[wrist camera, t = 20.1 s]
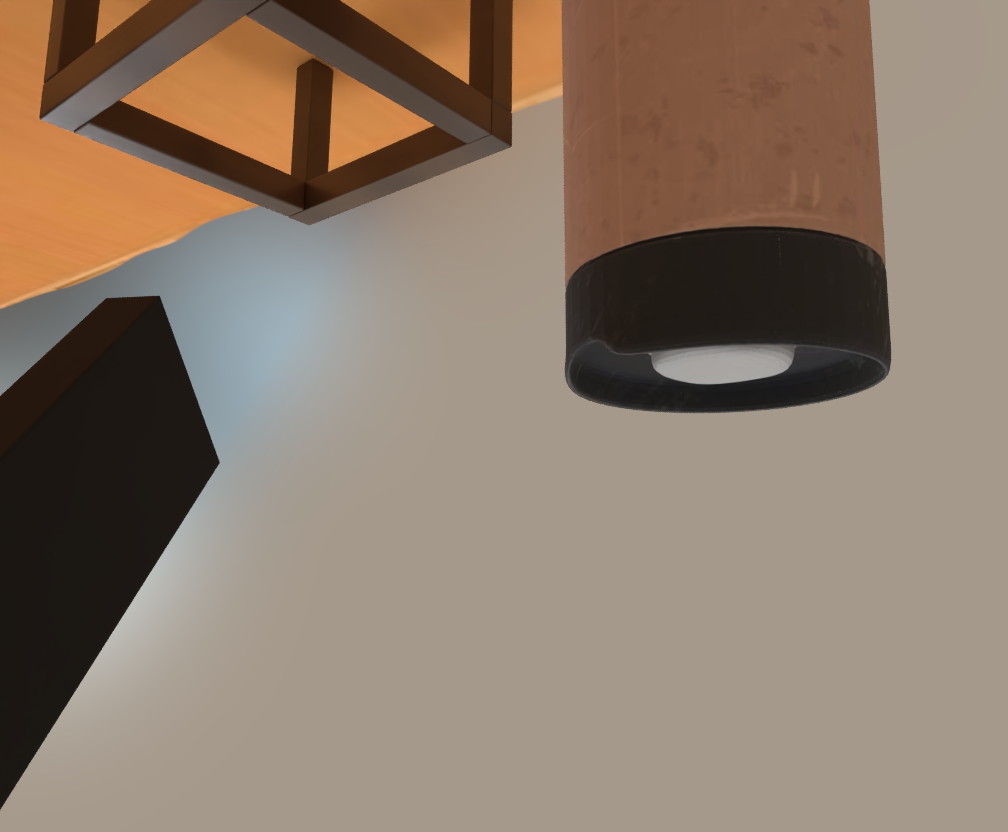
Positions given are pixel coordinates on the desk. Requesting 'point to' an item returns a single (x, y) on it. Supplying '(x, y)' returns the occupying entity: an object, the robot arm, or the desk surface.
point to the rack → (327, 35)
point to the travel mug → (722, 204)
